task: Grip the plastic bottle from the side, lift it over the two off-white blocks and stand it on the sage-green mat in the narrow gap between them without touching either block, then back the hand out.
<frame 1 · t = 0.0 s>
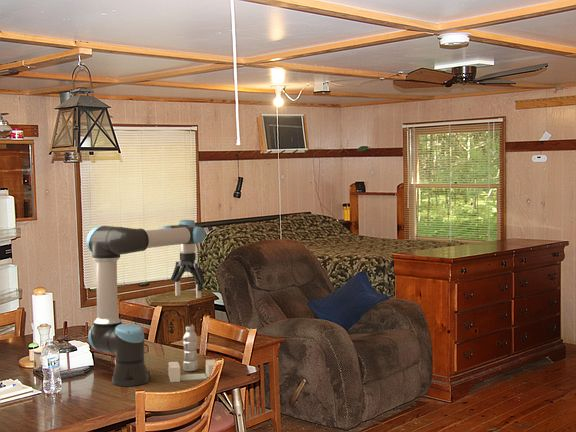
hand: (188, 296, 369), 28 cm above the table, tool pointing down, fingers open, 13 cm apart
gap blocks: (193, 377, 329), on the table
gap mat: (193, 377, 329), on the table
plastic bottle: (190, 371, 340), on the table
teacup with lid: (43, 371, 342), on the table
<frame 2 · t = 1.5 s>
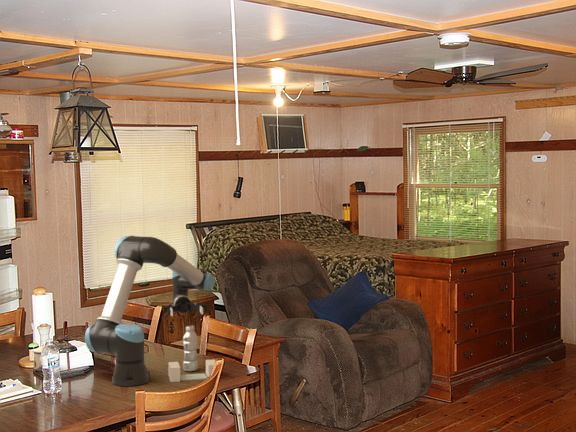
hand: (187, 312, 348), 24 cm above the table, tool horizontal, fingers open, 13 cm apart
nothing on the table moved.
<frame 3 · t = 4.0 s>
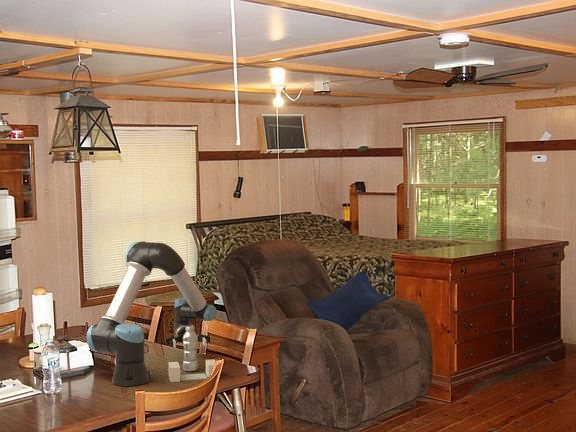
hand: (190, 344, 344), 11 cm above the table, tool horizontal, fingers open, 13 cm apart
nothing on the table moved.
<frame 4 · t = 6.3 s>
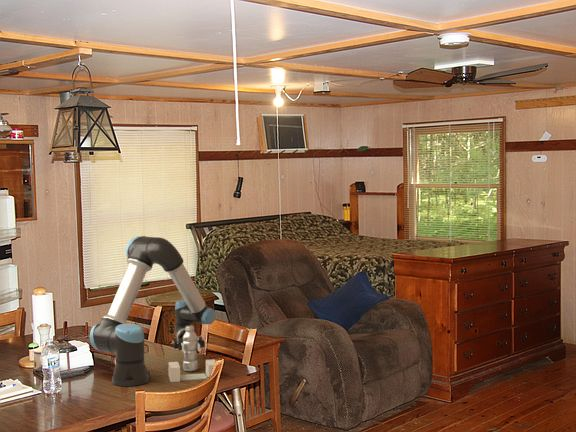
hand: (191, 348, 334), 11 cm above the table, tool horizontal, fingers closed on plastic bottle, 6 cm apart
plastic bottle: (190, 371, 340), on the table, touching gripper
everything else where it was.
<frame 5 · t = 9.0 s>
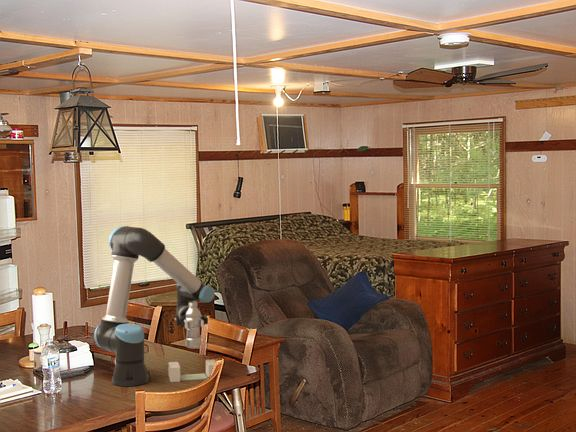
hand: (194, 325, 326), 23 cm above the table, tool horizontal, fingers closed on plastic bottle, 6 cm apart
plastic bottle: (193, 348, 332), point 12 cm above the table, touching gripper
everything else where it was.
when the fingers open (13 cm above the table, at t = 12.2 s): plastic bottle drops 1 cm, resting on gap mat.
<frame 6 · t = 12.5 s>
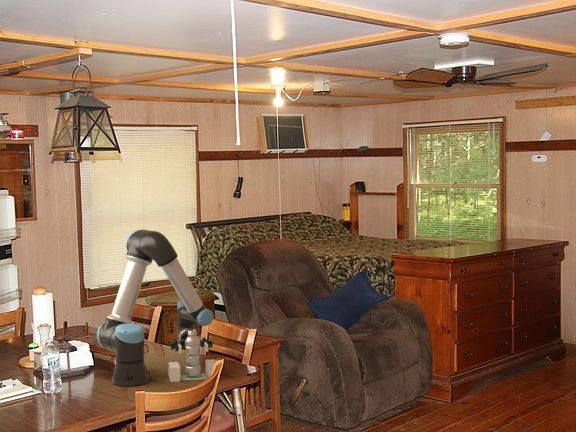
hand: (194, 349, 325), 13 cm above the table, tool horizontal, fingers open, 10 cm apart
plastic bottle: (192, 376, 329), resting on gap mat
everything else where it was.
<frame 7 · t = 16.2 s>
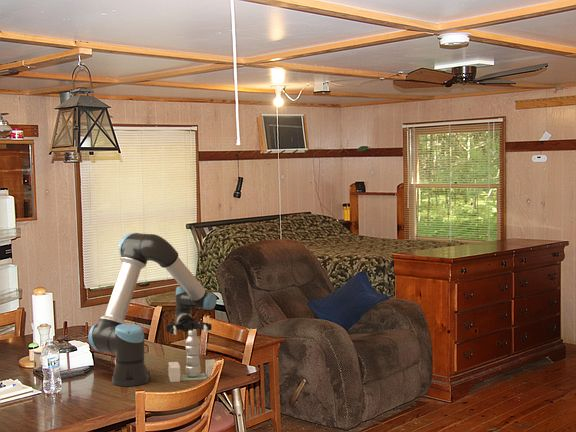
hand: (191, 331, 338), 18 cm above the table, tool horizontal, fingers open, 13 cm apart
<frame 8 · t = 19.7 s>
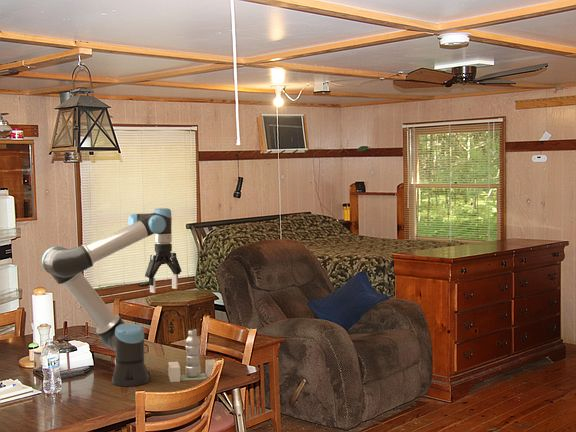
hand: (163, 290, 344), 35 cm above the table, tool pointing down, fingers open, 13 cm apart
nothing on the table moved.
at the end: plastic bottle 0.1 cm off-centre on the gap mat, point 0.2 cm above the gap mat's base; plastic bottle tilted 0°; plastic bottle touching gap mat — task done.
